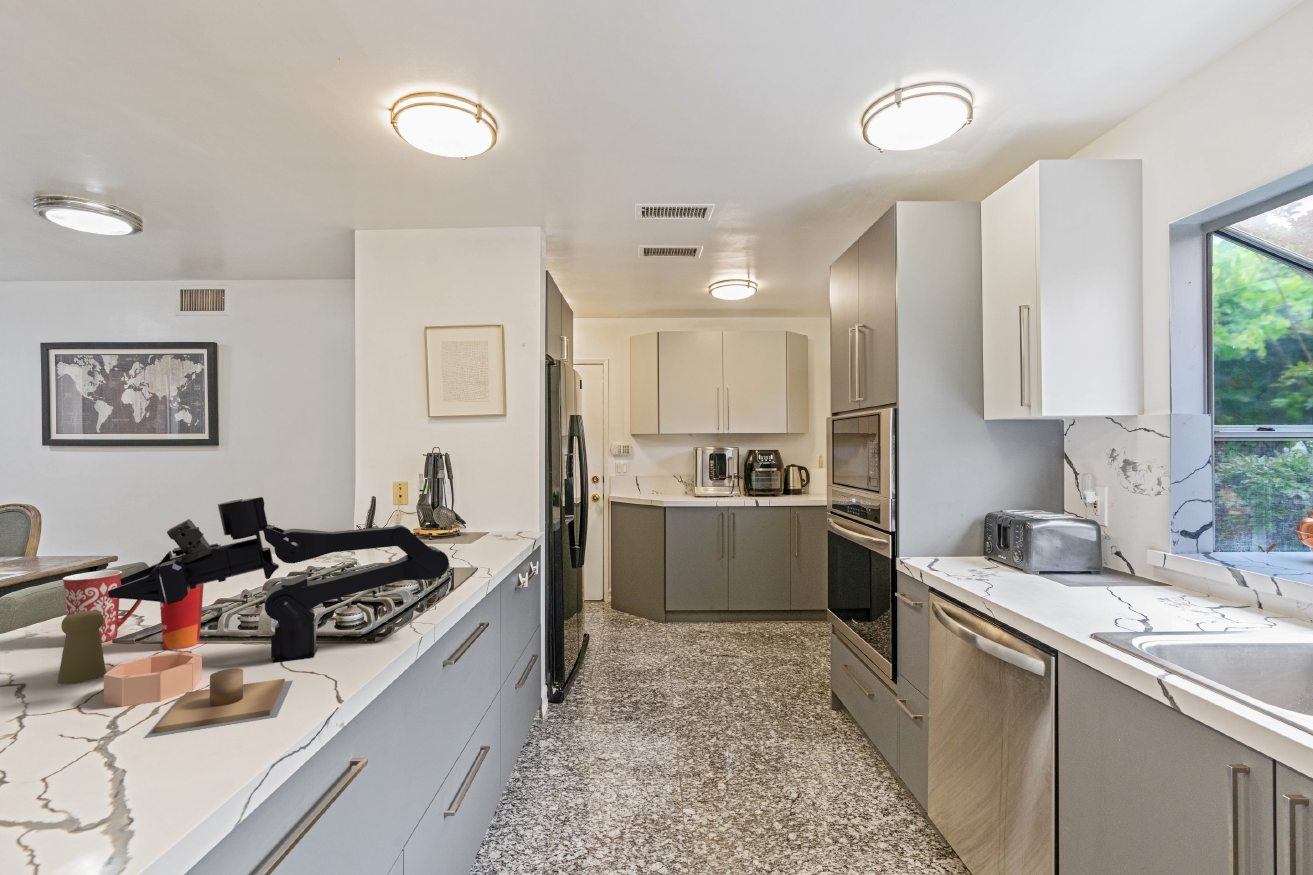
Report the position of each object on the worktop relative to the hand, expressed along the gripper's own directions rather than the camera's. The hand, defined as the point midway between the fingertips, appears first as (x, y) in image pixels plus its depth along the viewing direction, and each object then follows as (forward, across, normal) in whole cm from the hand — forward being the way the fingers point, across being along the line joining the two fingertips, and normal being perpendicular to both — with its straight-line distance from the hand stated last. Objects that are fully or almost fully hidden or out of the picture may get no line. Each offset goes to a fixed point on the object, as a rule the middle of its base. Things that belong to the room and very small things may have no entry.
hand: (114, 587), depth 99 cm
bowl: (-3, +8, +17) cm, 19 cm away
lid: (-13, +22, +18) cm, 31 cm away
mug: (+10, -35, +16) cm, 40 cm away
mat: (-13, +22, +18) cm, 31 cm away
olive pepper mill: (+8, -8, +15) cm, 19 cm away
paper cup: (-3, -20, +18) cm, 27 cm away
